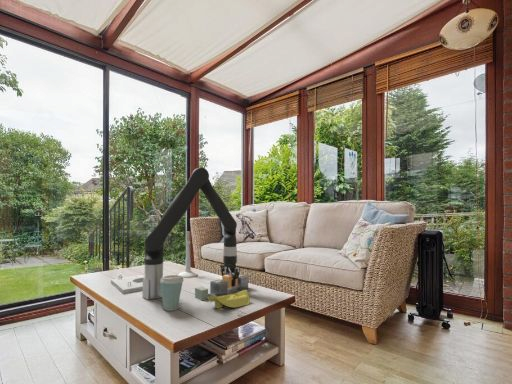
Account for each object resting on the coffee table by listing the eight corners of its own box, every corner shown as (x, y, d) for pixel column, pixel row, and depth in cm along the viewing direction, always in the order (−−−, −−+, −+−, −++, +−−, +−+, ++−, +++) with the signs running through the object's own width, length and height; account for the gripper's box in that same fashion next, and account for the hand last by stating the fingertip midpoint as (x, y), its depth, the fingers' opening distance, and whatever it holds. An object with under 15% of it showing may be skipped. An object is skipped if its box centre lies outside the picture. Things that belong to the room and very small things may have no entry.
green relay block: (201, 300, 149) (201, 290, 149) (194, 297, 153) (195, 288, 153) (208, 298, 152) (208, 288, 152) (201, 295, 156) (201, 286, 156)
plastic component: (235, 293, 153) (247, 288, 147) (238, 308, 150) (251, 303, 144) (203, 299, 139) (215, 294, 133) (206, 315, 136) (218, 311, 130)
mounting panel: (176, 276, 178) (123, 285, 159) (175, 285, 178) (123, 294, 159) (159, 268, 199) (110, 275, 180) (159, 276, 198) (110, 284, 179)
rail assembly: (214, 299, 151) (214, 284, 151) (205, 296, 155) (205, 282, 156) (249, 288, 170) (249, 275, 170) (240, 285, 175) (240, 273, 175)
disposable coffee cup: (158, 306, 140) (158, 274, 141) (181, 303, 144) (181, 272, 145) (160, 314, 130) (161, 279, 131) (185, 310, 135) (185, 277, 135)
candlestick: (186, 278, 190) (186, 232, 191) (173, 275, 197) (174, 230, 198) (201, 275, 200) (201, 230, 201) (188, 272, 208) (189, 229, 209)
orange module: (228, 288, 159) (228, 276, 160) (222, 286, 163) (222, 275, 163) (237, 285, 165) (237, 274, 165) (231, 283, 168) (231, 272, 168)
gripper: (216, 253, 166) (216, 284, 166) (234, 257, 157) (233, 289, 156) (226, 252, 172) (226, 281, 171) (244, 255, 162) (243, 286, 162)
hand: (229, 285), depth 164 cm, fingers closed on orange module, 5 cm apart
